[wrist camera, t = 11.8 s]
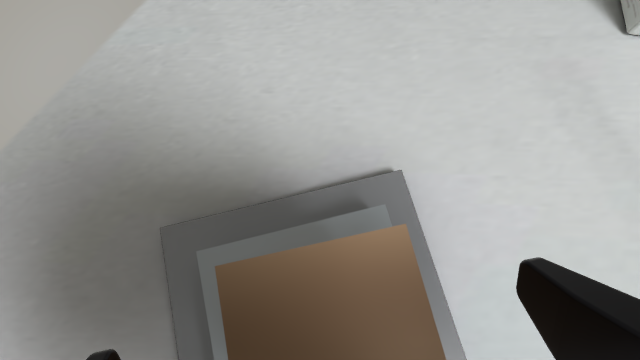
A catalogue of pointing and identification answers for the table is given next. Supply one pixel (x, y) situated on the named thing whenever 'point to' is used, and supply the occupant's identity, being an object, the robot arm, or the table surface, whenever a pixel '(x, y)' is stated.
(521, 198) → the table surface
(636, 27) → the skincare box
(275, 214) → the housing
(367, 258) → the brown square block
